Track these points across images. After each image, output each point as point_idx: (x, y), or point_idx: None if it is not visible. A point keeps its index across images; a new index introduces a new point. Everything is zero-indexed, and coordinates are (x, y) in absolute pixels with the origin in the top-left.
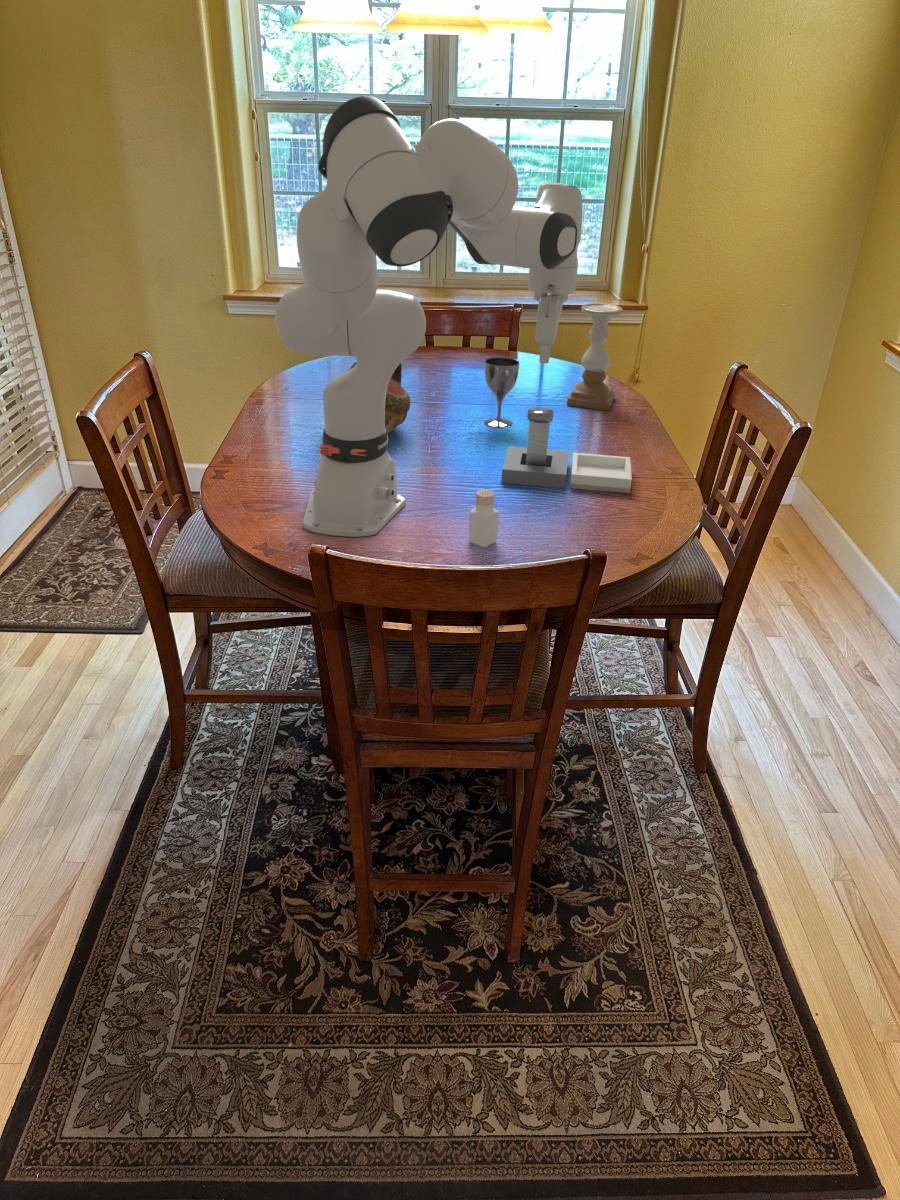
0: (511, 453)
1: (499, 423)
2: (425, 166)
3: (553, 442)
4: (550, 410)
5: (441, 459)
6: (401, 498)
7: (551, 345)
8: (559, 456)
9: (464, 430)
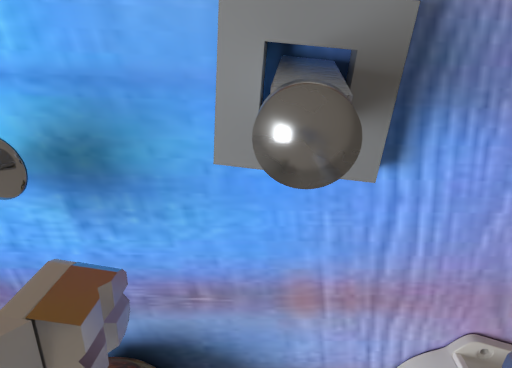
0: None
1: (3, 168)
2: None
3: (68, 22)
4: (290, 98)
5: (245, 279)
6: (474, 347)
7: (97, 293)
8: (268, 18)
9: (69, 238)
